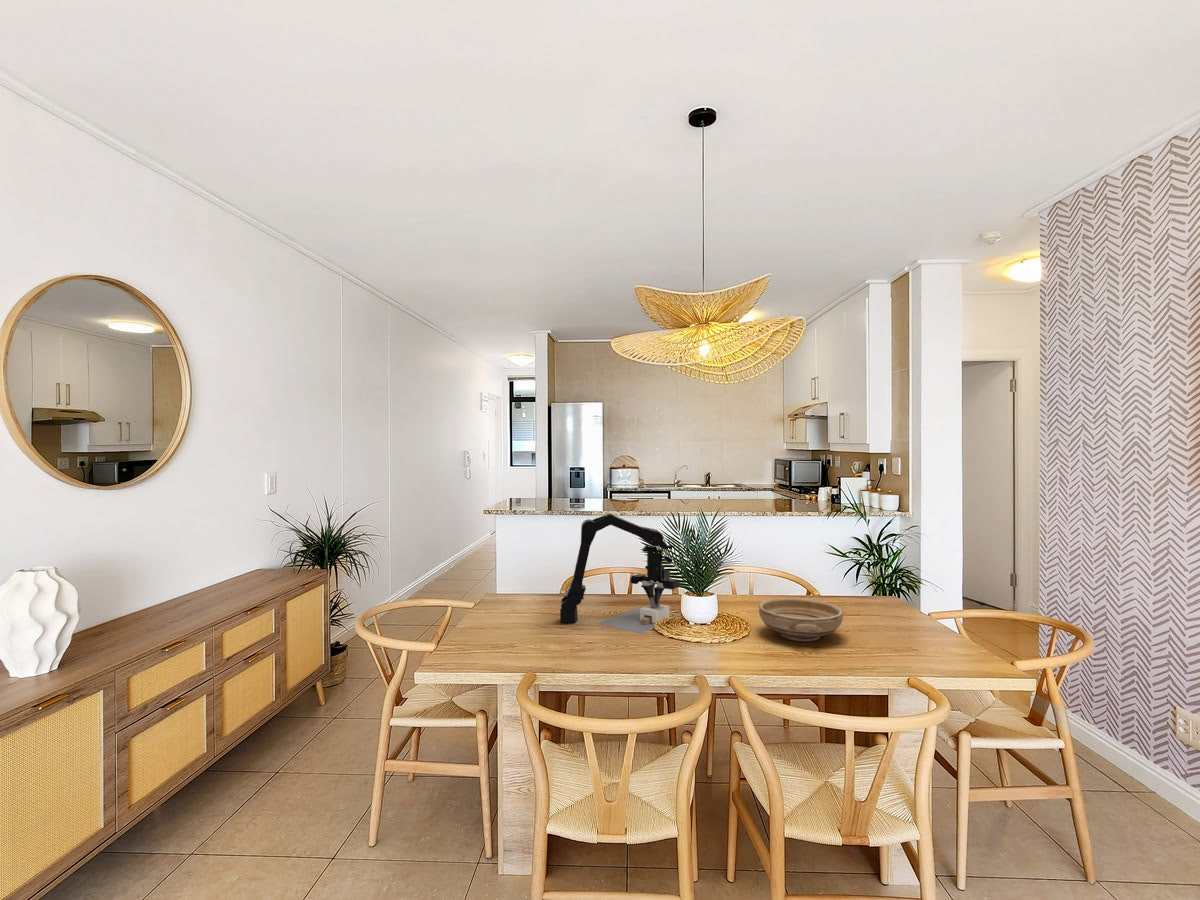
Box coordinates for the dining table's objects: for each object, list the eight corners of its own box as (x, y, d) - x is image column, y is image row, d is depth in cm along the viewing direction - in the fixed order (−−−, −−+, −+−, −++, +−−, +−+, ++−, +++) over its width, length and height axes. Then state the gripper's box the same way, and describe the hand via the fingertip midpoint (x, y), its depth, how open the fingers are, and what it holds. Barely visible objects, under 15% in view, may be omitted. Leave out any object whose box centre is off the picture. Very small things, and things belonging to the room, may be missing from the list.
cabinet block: (655, 623, 227) (655, 600, 227) (639, 620, 231) (639, 597, 231) (669, 617, 235) (669, 595, 235) (653, 614, 239) (653, 593, 239)
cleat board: (641, 636, 216) (641, 627, 216) (596, 626, 228) (596, 618, 228) (682, 617, 240) (682, 609, 240) (639, 609, 252) (639, 602, 252)
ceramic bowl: (854, 655, 195) (854, 624, 195) (762, 650, 201) (762, 620, 201) (832, 623, 232) (832, 596, 232) (754, 619, 237) (754, 593, 237)
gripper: (686, 562, 234) (686, 603, 234) (645, 557, 245) (645, 596, 245) (672, 567, 225) (672, 609, 225) (629, 561, 236) (629, 602, 236)
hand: (654, 604), depth 233 cm, fingers closed on cabinet block
